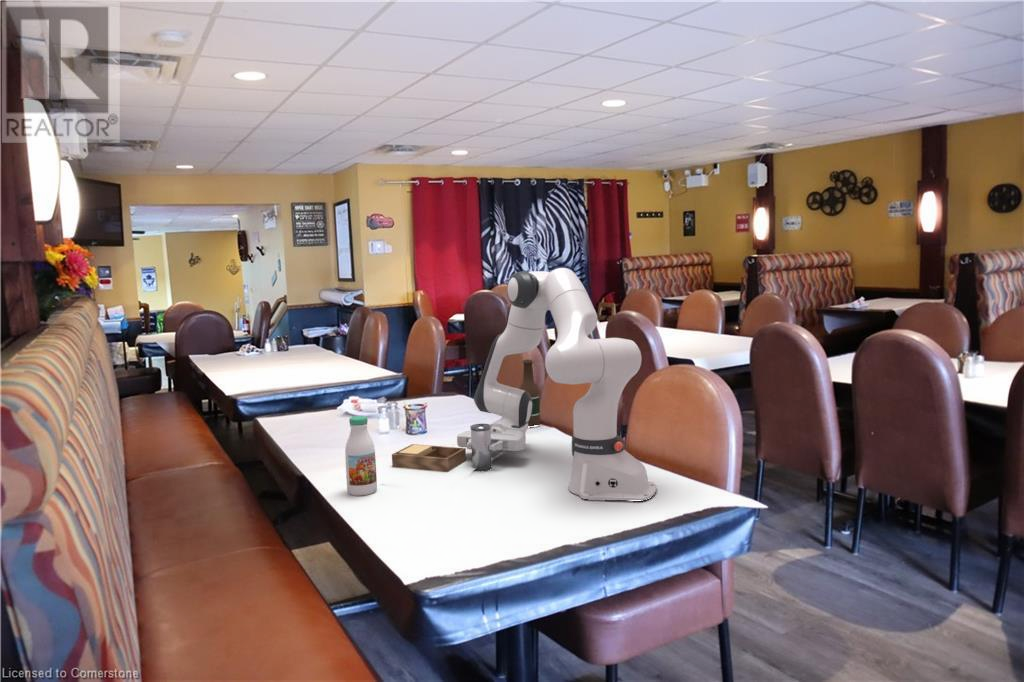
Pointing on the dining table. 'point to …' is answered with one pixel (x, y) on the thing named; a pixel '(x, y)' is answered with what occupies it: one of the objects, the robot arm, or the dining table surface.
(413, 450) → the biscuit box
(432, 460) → the caddy
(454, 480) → the dining table surface
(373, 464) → the milk bottle
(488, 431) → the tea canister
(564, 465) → the dining table surface
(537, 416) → the beer bottle
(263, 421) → the dining table surface
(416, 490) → the dining table surface
